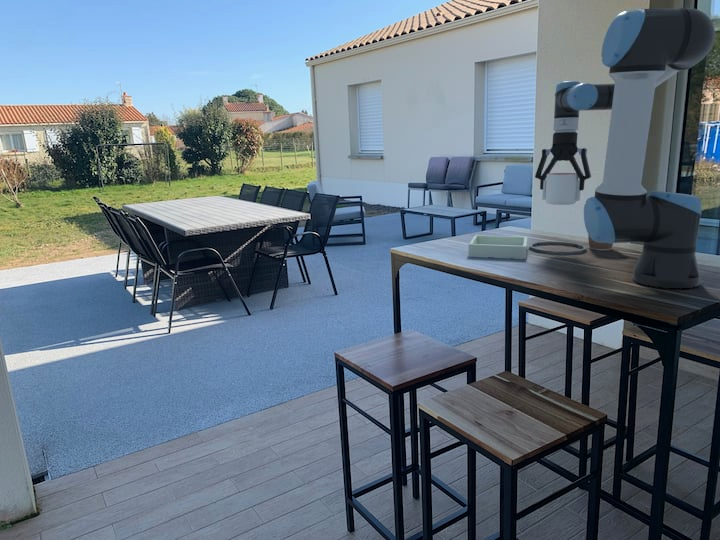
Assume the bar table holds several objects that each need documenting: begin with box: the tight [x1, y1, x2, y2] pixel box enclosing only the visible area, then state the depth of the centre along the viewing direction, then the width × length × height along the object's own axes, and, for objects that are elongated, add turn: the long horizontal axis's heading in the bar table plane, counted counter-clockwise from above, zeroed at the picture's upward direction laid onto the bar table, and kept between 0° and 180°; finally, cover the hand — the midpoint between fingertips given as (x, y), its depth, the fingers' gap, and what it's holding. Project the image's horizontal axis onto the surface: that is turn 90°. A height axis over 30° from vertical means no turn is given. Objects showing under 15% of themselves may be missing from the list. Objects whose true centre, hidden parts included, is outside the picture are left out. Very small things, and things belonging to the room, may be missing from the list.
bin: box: [468, 234, 528, 260], centre depth 173 cm, size 18×18×4 cm
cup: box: [544, 172, 579, 206], centre depth 172 cm, size 10×10×10 cm
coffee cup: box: [587, 234, 614, 251], centre depth 175 cm, size 10×10×12 cm
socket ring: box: [528, 240, 588, 256], centre depth 177 cm, size 18×18×1 cm
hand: (560, 199), depth 173 cm, fingers closed on cup, 10 cm apart
